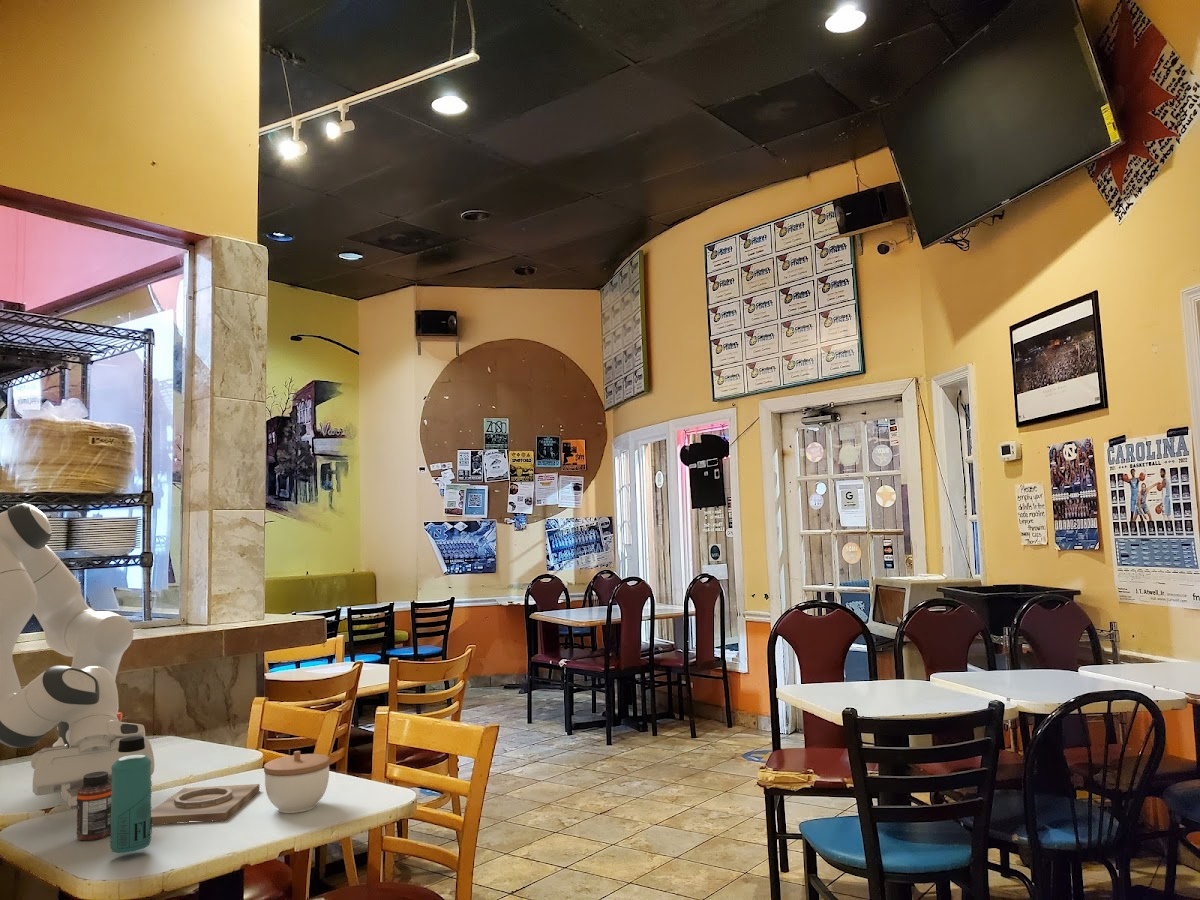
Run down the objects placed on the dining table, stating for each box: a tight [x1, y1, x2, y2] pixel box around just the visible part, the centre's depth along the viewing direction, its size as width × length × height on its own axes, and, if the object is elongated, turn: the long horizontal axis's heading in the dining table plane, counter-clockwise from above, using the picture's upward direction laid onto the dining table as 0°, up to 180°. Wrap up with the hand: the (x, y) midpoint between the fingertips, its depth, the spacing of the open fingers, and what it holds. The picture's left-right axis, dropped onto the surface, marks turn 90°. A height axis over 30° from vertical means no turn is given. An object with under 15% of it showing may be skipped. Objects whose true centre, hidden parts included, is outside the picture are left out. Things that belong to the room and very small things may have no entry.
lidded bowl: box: [263, 750, 331, 814], centre depth 176 cm, size 13×13×11 cm
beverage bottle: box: [109, 736, 153, 854], centre depth 153 cm, size 6×7×20 cm
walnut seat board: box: [151, 783, 261, 825], centre depth 179 cm, size 20×16×2 cm
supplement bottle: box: [76, 771, 112, 842], centre depth 163 cm, size 6×6×11 cm
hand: (95, 804), depth 163 cm, fingers closed on supplement bottle, 6 cm apart
